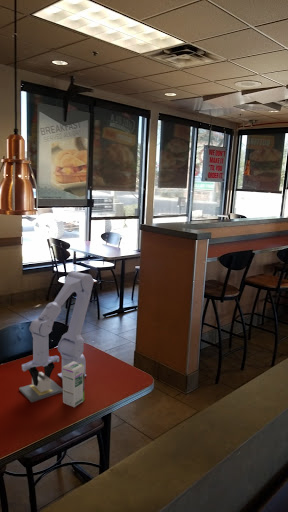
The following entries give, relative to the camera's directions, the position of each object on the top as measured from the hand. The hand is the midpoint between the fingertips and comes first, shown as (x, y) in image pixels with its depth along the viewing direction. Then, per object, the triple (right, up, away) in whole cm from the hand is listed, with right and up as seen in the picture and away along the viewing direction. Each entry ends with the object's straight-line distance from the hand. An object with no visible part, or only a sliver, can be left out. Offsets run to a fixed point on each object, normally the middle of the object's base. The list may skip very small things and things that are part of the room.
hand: (41, 383), depth 154 cm
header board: (0, -3, +1) cm, 3 cm away
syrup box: (+14, -5, -6) cm, 16 cm away
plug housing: (0, -1, 0) cm, 1 cm away
